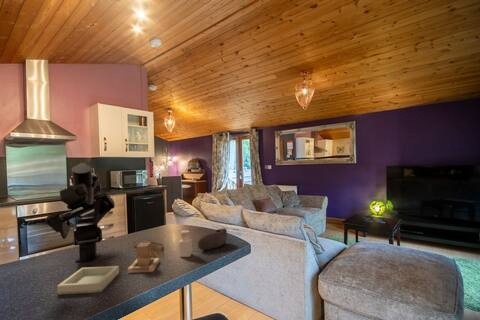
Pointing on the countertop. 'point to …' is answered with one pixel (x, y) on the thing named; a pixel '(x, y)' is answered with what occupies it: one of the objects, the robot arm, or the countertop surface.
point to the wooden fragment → (154, 249)
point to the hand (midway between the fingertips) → (79, 230)
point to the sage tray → (88, 280)
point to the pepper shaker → (185, 244)
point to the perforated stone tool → (213, 239)
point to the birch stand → (135, 268)
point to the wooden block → (144, 254)
